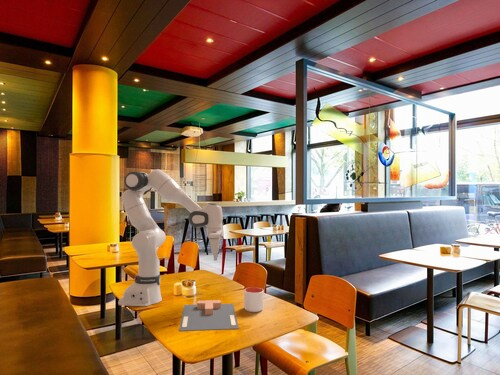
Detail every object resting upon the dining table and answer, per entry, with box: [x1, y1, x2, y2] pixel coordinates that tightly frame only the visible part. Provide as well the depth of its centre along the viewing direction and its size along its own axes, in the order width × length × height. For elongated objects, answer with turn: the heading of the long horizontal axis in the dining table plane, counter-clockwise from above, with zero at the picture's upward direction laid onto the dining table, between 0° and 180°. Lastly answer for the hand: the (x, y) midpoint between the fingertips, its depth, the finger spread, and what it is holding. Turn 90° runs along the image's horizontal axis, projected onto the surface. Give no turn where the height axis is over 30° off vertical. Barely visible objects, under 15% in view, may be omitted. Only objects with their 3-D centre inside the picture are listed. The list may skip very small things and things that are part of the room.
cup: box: [243, 287, 265, 313], centre depth 166 cm, size 10×10×10 cm
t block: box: [196, 299, 222, 315], centre depth 163 cm, size 12×12×3 cm
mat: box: [178, 303, 240, 332], centre depth 156 cm, size 26×32×1 cm
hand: (215, 258), depth 173 cm, fingers open, 8 cm apart
